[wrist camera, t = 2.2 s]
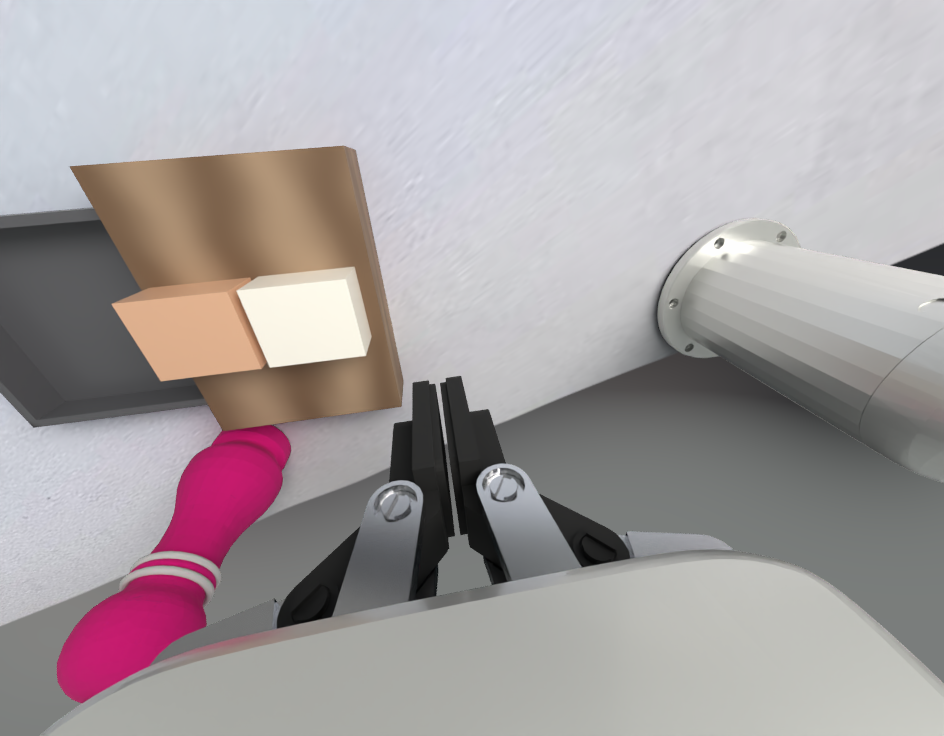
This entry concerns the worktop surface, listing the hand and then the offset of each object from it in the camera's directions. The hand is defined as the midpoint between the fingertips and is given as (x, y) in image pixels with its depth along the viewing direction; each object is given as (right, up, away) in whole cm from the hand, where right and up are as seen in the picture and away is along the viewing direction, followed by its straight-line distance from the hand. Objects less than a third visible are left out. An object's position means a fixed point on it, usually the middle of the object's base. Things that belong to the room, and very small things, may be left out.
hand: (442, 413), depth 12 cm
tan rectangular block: (-16, +5, +11) cm, 20 cm away
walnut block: (-13, +7, +14) cm, 20 cm away
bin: (-26, +5, +13) cm, 30 cm away
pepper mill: (-20, -6, +21) cm, 29 cm away
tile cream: (-9, +6, +11) cm, 16 cm away
